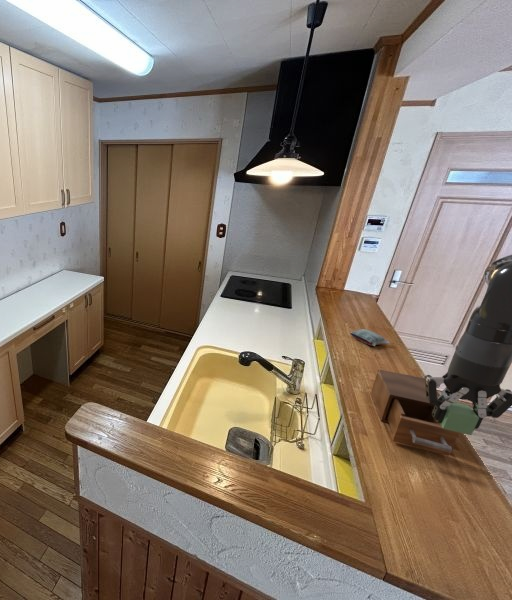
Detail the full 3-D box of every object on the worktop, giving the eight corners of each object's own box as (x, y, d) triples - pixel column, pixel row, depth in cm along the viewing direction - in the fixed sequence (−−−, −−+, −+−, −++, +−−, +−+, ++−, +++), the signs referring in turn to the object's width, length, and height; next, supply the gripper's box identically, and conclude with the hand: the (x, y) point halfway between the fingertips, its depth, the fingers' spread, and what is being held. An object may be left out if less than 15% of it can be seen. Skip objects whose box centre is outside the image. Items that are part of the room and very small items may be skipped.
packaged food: (364, 335, 148) (366, 325, 146) (389, 347, 137) (392, 337, 135) (347, 337, 147) (350, 327, 145) (371, 349, 136) (375, 339, 134)
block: (461, 421, 72) (469, 405, 70) (471, 435, 68) (479, 418, 66) (435, 415, 74) (441, 399, 72) (442, 428, 70) (450, 411, 68)
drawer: (456, 470, 79) (468, 445, 76) (397, 453, 84) (406, 429, 81) (429, 422, 94) (438, 400, 91) (380, 411, 99) (388, 389, 96)
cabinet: (436, 435, 90) (448, 407, 87) (380, 421, 96) (389, 394, 93) (419, 404, 103) (429, 379, 99) (370, 393, 108) (378, 369, 105)
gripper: (441, 357, 65) (416, 425, 71) (546, 374, 59) (509, 447, 64) (428, 341, 71) (405, 405, 77) (522, 355, 65) (489, 423, 71)
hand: (453, 423), depth 71 cm, fingers closed on block, 4 cm apart
